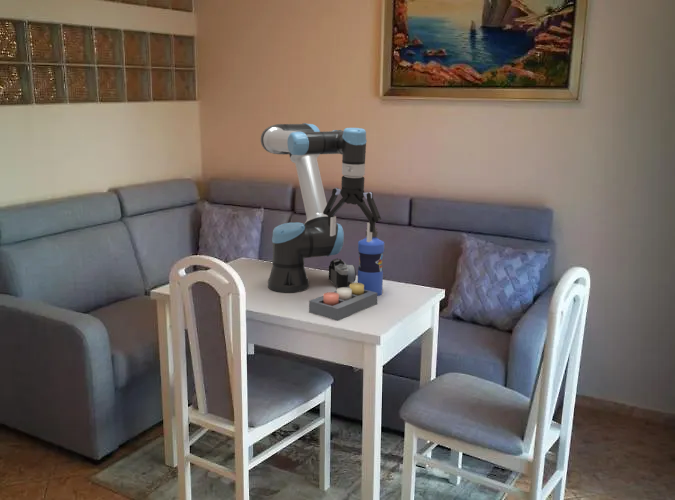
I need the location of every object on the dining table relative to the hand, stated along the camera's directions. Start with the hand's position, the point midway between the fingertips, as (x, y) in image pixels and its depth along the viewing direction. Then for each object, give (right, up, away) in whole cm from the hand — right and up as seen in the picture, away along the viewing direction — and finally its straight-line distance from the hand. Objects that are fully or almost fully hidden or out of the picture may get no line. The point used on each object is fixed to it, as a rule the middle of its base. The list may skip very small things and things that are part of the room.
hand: (350, 238), depth 226 cm
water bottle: (+7, -20, +17) cm, 27 cm away
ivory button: (-2, -20, 0) cm, 20 cm away
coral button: (-7, -22, -6) cm, 23 cm away
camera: (-2, -17, +26) cm, 31 cm away
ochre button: (+2, -19, +5) cm, 20 cm away
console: (-2, -24, 0) cm, 24 cm away
